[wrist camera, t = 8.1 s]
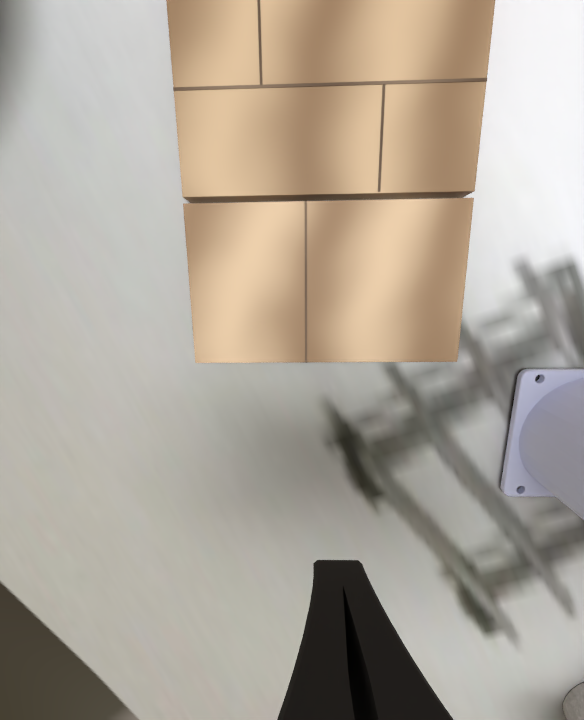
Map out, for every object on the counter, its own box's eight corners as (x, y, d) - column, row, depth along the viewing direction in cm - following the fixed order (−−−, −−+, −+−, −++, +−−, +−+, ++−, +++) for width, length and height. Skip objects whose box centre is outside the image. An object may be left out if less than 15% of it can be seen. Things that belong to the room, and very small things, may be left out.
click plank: (461, 204, 17) (474, 197, 15) (447, 356, 18) (457, 361, 17) (191, 209, 17) (182, 203, 16) (202, 358, 19) (195, 362, 18)
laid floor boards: (484, -23, 14) (501, -51, 13) (462, 197, 17) (474, 190, 15) (174, -10, 15) (163, -36, 14) (190, 202, 17) (182, 196, 16)
